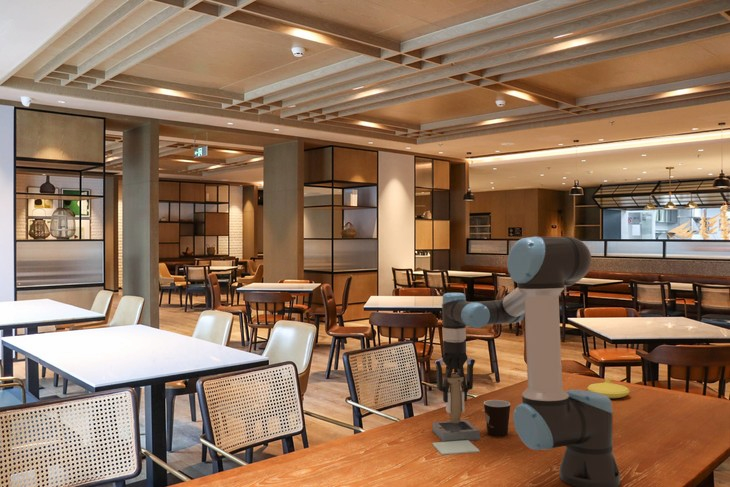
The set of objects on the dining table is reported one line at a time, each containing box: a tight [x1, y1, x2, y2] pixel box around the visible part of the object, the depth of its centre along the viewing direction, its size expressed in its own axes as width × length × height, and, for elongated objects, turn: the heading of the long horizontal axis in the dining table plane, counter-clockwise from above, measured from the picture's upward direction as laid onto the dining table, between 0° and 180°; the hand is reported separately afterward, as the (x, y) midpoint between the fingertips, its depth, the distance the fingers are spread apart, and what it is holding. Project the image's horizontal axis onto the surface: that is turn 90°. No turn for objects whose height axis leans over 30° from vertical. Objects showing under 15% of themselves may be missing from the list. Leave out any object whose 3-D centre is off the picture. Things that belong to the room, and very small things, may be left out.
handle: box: [444, 374, 463, 423], centre depth 202 cm, size 5×6×15 cm
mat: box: [431, 440, 481, 456], centre depth 190 cm, size 10×12×1 cm
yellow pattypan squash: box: [587, 377, 630, 399], centre depth 249 cm, size 16×16×7 cm
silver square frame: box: [432, 419, 481, 442], centre depth 202 cm, size 12×12×3 cm
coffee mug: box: [483, 399, 511, 438], centre depth 205 cm, size 12×9×10 cm
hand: (455, 411), depth 202 cm, fingers closed on handle, 4 cm apart
